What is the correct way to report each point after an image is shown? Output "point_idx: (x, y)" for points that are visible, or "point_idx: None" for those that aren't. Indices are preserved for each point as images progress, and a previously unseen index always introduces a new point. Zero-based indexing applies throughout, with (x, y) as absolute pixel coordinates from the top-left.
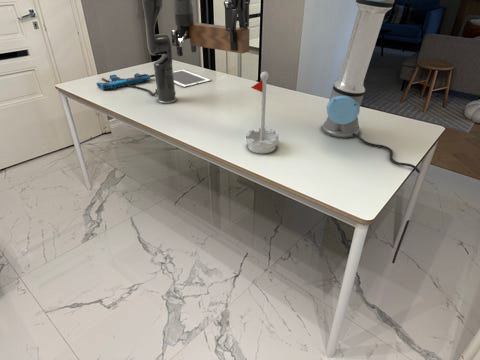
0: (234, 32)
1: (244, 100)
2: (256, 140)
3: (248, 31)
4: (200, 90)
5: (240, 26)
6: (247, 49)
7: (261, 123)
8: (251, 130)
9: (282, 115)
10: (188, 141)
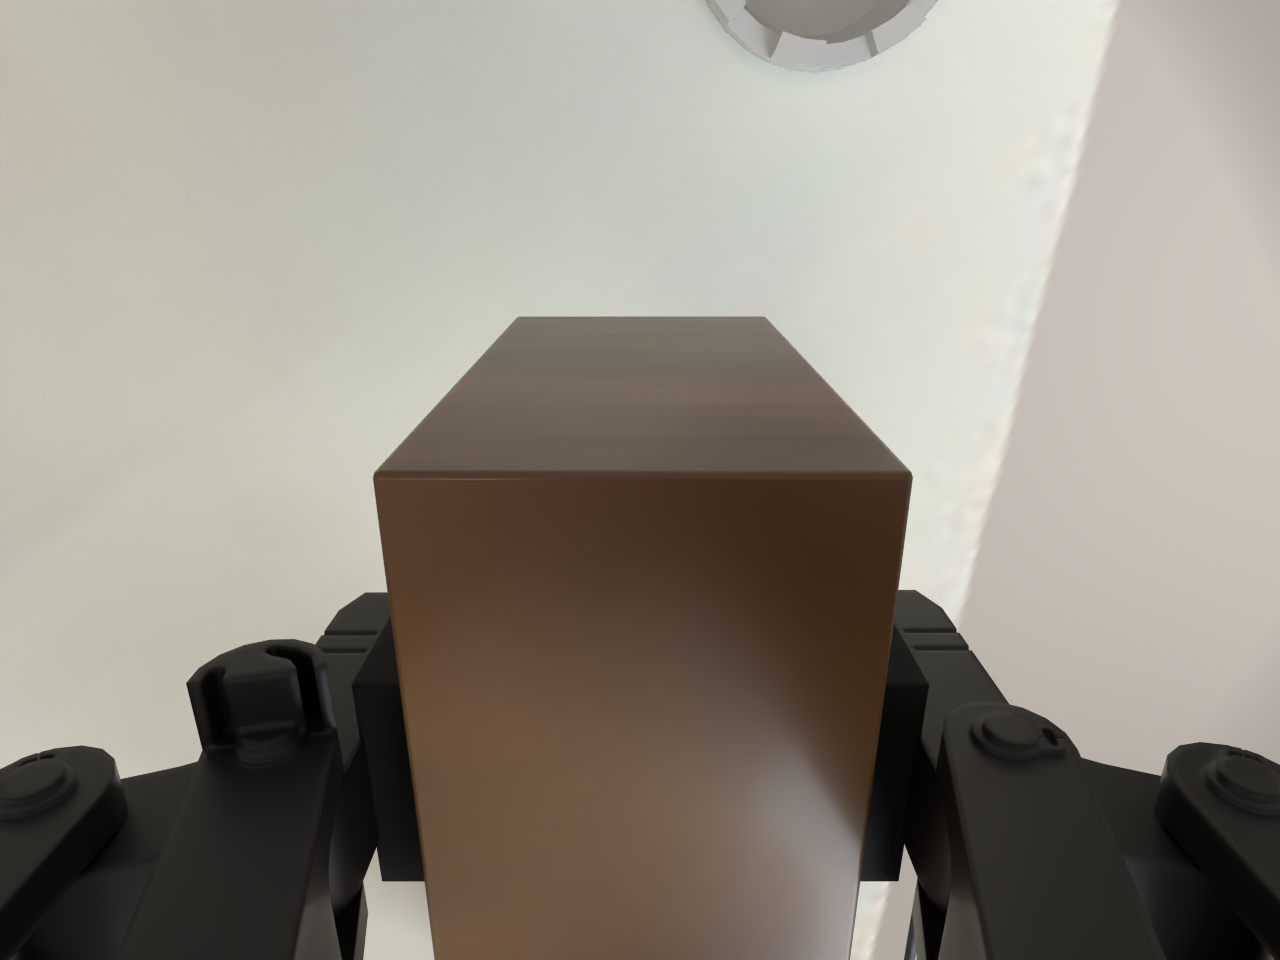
0: (1000, 703)
1: (173, 576)
2: (772, 21)
3: (479, 440)
4: None
5: (343, 934)
6: (583, 326)
7: None
8: (806, 47)
9: (188, 144)
10: (984, 453)
